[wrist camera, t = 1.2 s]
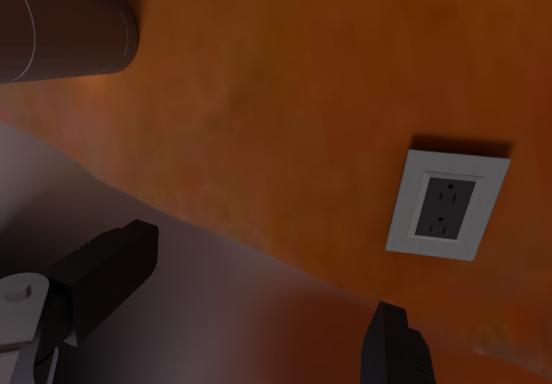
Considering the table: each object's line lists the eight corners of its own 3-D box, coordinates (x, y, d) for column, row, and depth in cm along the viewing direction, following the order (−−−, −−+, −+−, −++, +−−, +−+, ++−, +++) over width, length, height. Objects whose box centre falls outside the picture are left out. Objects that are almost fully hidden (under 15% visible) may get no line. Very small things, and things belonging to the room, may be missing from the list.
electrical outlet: (405, 144, 37) (410, 150, 35) (501, 153, 36) (512, 160, 34) (382, 241, 42) (386, 251, 40) (466, 251, 41) (474, 262, 39)
